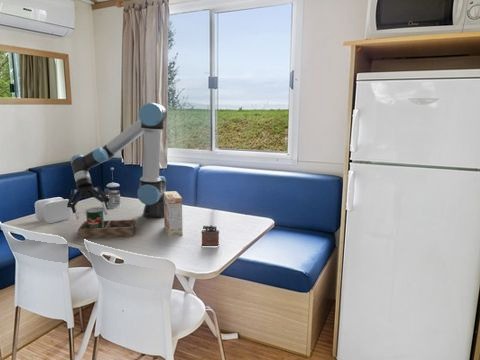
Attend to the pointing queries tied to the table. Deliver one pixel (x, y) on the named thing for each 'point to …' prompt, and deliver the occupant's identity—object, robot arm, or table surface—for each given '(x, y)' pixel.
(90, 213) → the canned tomato
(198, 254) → the table surface
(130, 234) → the slot caddy
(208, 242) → the lighter
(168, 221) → the coffeecake box
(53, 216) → the cable organizer
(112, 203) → the french press
